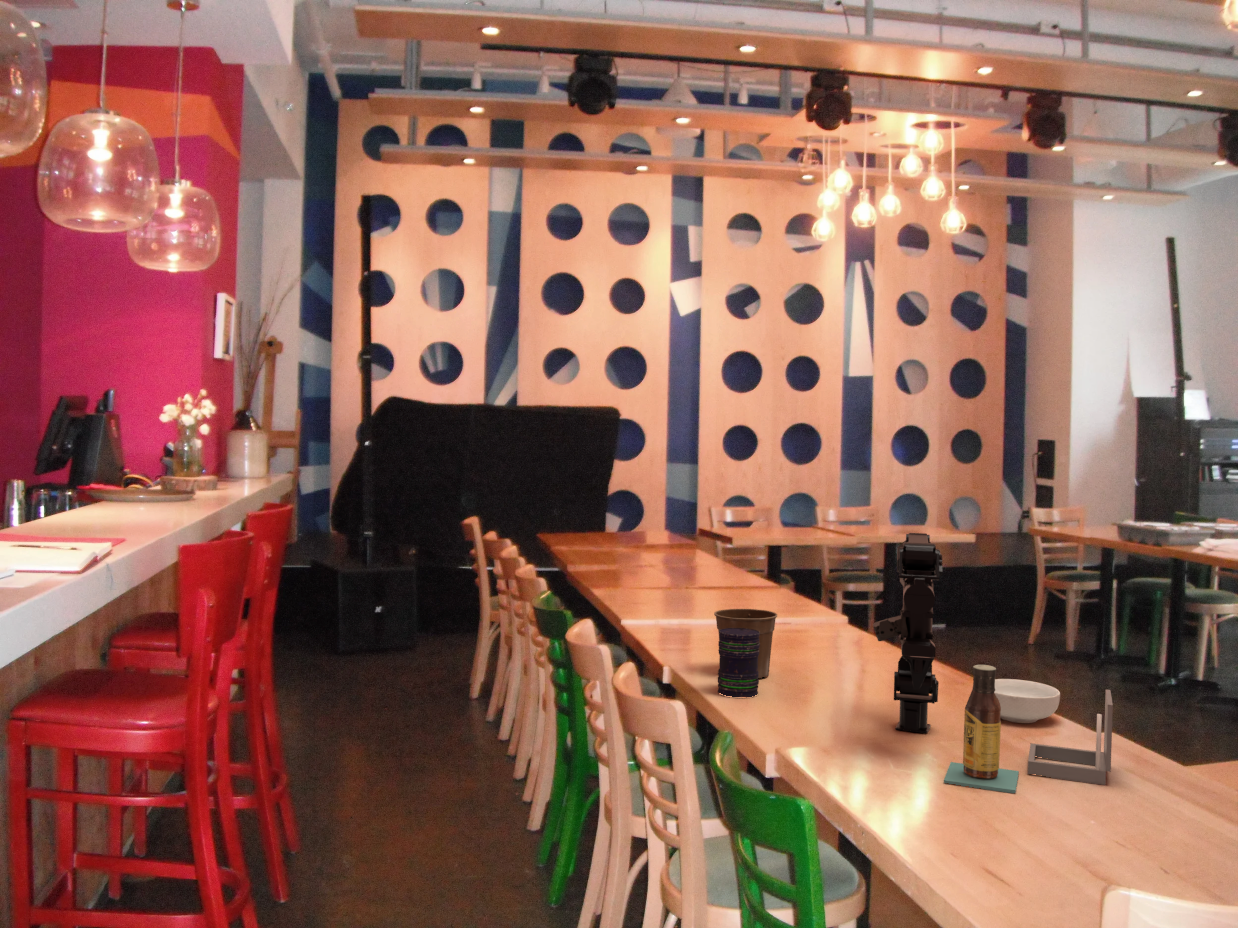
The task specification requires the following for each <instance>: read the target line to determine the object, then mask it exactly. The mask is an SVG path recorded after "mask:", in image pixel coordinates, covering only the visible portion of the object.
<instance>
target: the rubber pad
mask: <svg viewBox="0 0 1238 928" xmlns="http://www.w3.org/2000/svg"><path fill="white" fill-rule="evenodd" d="M1019 772H1020V771H1019V770H1013V769H1007V768H1000V767H999V769H998V775H997V777H995V778H993V779H982V778H976V777H971V776H969V775H967V774H966V773H965V772H964V765H963V762H962V763H961V762H954V761H951V762H950V763H949V766H948V767H947V770H946V773H945V776H944V779H943V784H944V783H949V784H948V785H950V784H956V785H955V786H957V785H961V786H960V787H965V786H969V787H968V788H972V787H974V788H973V789H979V788H981V789H980V790H987V791H993V792H1000V793H1008V794H1014V793H1017V788H1016V787H1018V782H1019V776H1018V775H1020V773H1019ZM1017 781H1018V782H1017Z"/></svg>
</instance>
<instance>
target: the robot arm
mask: <svg viewBox="0 0 1238 928" xmlns="http://www.w3.org/2000/svg"><path fill="white" fill-rule="evenodd" d="M930 538H931V535H930V534H927V533H925V532H924V533H923V532H920V533H919V532H908V533H906V534H905V540H904V541H903V542H902V543H901V544H900V545H898V546H897V551H896V553H897V555H896V563H897V564H896V572H898V579H899V583H900V584H901V586H902V592H903V595H902V608H901V609H900V615H897V616H892V617H889V618H885V619H883V620H879V621H875V622H874V623H873V624H872V627H873V630H874V633H875V636H876V638H877V641H878V642H883V641H886V640H887V639H891V638H893V637H897V636H899V639H900V640H899V641H900V644H901V648H900V650H901V651H900V652H901V656H900V658H899V660H898V662H897V671H894V674H893V676H894V677H893V679H894V681H893V701H899V716H898V717H899V721H898V722H897V724H896V726H895V730H896V731H904V732H911V733H919V734H928V733H929V731H930V728H932V727H931V726H932V725H931V724H930V723H928V709H929V708H928V706H929V705H928V704H930V703H931V704H933V705H935V703H938V702H939V697H938V696H939V681H938V679H937V677H936V674H933V662H934V660H935V658H936V650H937V649H936V648H937V647H936V644H935V643H934V642H933V641H932V640H933V639H934V638H933V635H934V634H933V619H934V611H933V607H934V605H935V601H936V597H935V591H934V582H933V581H940V577H941V576H943V555H942V553H941V550H940V549H939V548H937V545H936V543H934V542H933V543H932V542H931V541H930V540H931V539H930Z"/></svg>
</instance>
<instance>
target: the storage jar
mask: <svg viewBox="0 0 1238 928" xmlns="http://www.w3.org/2000/svg"><path fill="white" fill-rule="evenodd" d="M759 633H760V632H759V631H757V630H753V629H747V628H725V629H720V630H719V632H718V650H717V651H718V655H719V662H718V663H719V664H718V665H719V666H718V667H719V668H718V672H717V673H718V674H717V683H718V684H717V687H718V688H717V693H718V692H719V693H721V694H723V695H726V696H732V697H752V696H755V695H757V694H758V695H759V691H758V689H759V684H760V679H758V676H759V672H758V656H759V648H760V643H759ZM719 634H720V636H719ZM752 698H753V697H752Z"/></svg>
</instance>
